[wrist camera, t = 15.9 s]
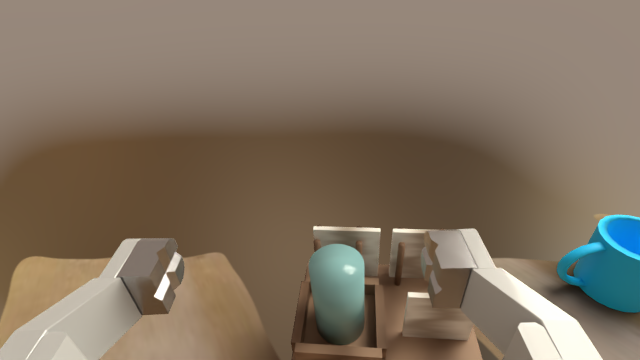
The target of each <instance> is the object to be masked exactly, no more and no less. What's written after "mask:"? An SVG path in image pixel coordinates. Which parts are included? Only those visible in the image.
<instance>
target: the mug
mask: <svg viewBox="0 0 640 360" xmlns="http://www.w3.org/2000/svg"><path fill="white" fill-rule="evenodd" d="M578 259H579V261H578V262H577V264H576V266H575V268H574V270H573V273H574V277H572V276H569V275H567V269H568V268H569V267H570V266H571V264H573V263H574V262H576V261H577V260H578ZM557 273H558V275H559V277H560V278H561V279H562V280H564V281H565V282H567V283H568V284H571V285H576V286H579V287H580V288H581V289H582V290H583V291H584V292H585V293H586V294H587V295H588V296H590V297H591V298H593V299H594V300H595V301H597V302H599V303H601V304H603V305H605V306H607V307H609V308H612V309H615V310H619V311H622V312H633V313H636V312H640V218H638V217H633V216H628V215H611V216H606V217H605V218H603V219H601V220H600V222H599V224H598V225H597V227H596V229H595V231H594V233H593V235H592V237H591V238H590V240H589V242H588V244H587V245H584V246H581V247H579V248H577V249H575V250H572V251H571V252H569V253H568V254H567V255H565V256H564V257H563V258H562V259H561V260H560V262H559V263H558V266H557Z"/></svg>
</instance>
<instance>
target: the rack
mask: <svg viewBox="0 0 640 360" xmlns="http://www.w3.org/2000/svg"><path fill="white" fill-rule="evenodd" d="M313 230H314V250H315V252H316V251H317V250H318V249H320V248H322V247H324V246H327V245H331V244H344V245H348V246H350V247H352V248H354V249H356V250H357V251H358V252H359V253H360V254H361V255H362V257H363V260H364V304H365V324H364V330H363V332H362V334H361V335H360V337H359V338H358V339H357V340H355V341H354V342H352V343H350V344H346V345H335V344H331V343H329V342H327V341H326V340H324V339H323V338H322V337H321V335H320V334H319V332H318V330H317V326H316V318H315V311H314V304H313V297H312V289H311V282H310V275H309V266H308V265H309V262H308V263H307V269H306V275H305V281H302V282H301V288H300V293H299V300H298V305H297V311H296V317H295V322H294V329H293V334H292V340H291V345H292V350H293V354H292V360H482V356H481V353H480V349H479V346H478V342H477V338H476V335H475V331H474V328H473V324H474V323H473V322H472V321H471V320H470V319H469V318H468V317H467V316H466V315H465V314H464V313H463V312H462V311H461V308H433V307H432V304H431V301H430V297H429V294H428V291H427V290H428V284H429V282H428V281H426V280H425V279H424V277H423V273H422V268H421V252H422V249H423V248H424V247H425V243H424V240H423V239H424V234H425V232H426V231H431V230H419V229H403V228H400V227H399V228H397V229H393V233H392V244H391V256H390V265H380V264H378V260H379V245H380V228H362V227H360V226H357V227H356V228H355V227H322V226H321V225H317V226H314V229H313ZM439 230H444V229H439Z"/></svg>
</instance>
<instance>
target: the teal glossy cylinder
mask: <svg viewBox="0 0 640 360" xmlns="http://www.w3.org/2000/svg"><path fill="white" fill-rule="evenodd" d="M308 266H309V275H310V282H311V289H312V297H313V304H314V311H315V318H316V326H317V330H318V332H319V334H320V335H321V337H322V338H323V339H324V340H326V341H327V342H329V343H331V344H335V345H346V344H350V343H352V342H354V341H355V340H357V339H358V338H359V337H360V335H361V334H362V332H363V330H364V324H365V304H364V260H363V257H362V255H361V254H360V253H359V252H358V251H357V250H356V249H354V248H352V247H350V246H348V245H344V244H331V245H327V246H324V247H322V248H320V249H318V250H317V251H316V252H315V253H314V254H313V255H312V257H311V259H310V260H309V265H308Z"/></svg>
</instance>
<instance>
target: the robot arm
mask: <svg viewBox="0 0 640 360" xmlns="http://www.w3.org/2000/svg"><path fill="white" fill-rule="evenodd" d="M423 240H424V243H425V247H424V248H423V249H422V252H421V268H422V273H423V277H424V279H425V280H426V281H428V282H429V284H428V290H427V291H428V294H429V297H430V301H431V304H432V307H433V308H461V311H462V312H463V313H464V314H465V315H466V316H467V317H468V318H469V319H470V320H471V321H472V322H473V323H474V324H475V325H476V326H477V327H478V328H479V329H480V330H481V331H482V333H483V334H484V335H485V336H486V337H487V338H488V339H489V340H490V341H491V342H492V343H493V344H494V345H495V346H496V347H497V348H498V349H499V350H500V351H501V352H502V353H503V354H504V357H503V359H502V360H602V358H601V357H600V355H599V354H598V352H597V350H596V349H595V347H594V346H593V344H592V343H591V341H590V340H589V338H588V337H587V335H586V333H585V332H584V330H583V329H582V327H581V326H580V324H579V323H578V321H577V320H575V319H574V318H573V317H571V316H570V315H568V314H567V313H565V312H564V311H562V310H561V309H560V308H558V307H557V306H555V305H554V304H552V303H551V302H550V301H548V300H547V299H545V298H544V297H542V296H541V295H539V294H538V293H537V292H535V291H534V290H532V289H531V288H529V287H528V286H526V285H525V284H524V283H522V282H521V281H519V280H518V279H516V278H515V277H513V276H512V275H511V274H509V273H508V272H506V271H505V270H503V269H502V268H496V267H495V265H494V263H493V261H492V259H491V257H490V255H489V253H488V251H487V250H486V248H485V246H484V244H483V242H482V240H481V238H480V236H479V234H478V232H477V231H476V230H475V229H458V230H431V231H426V232H425V234H424V239H423ZM177 247H178V246H177V244H176V242H175V240H174V239H171V238H146V239H145V238H142V239H126V240H124V241H123V242H122V243H121V245H120V246H119V248H118V249H117V251H116V252H115V254H114V255H113V257H112V258H111V260H110V261H109V263H108V264H107V266H106V267H105V269H104V270H103V272H102V273H101V275H100V276H99V278H93V279H92V280H90V281H89V282H87V283H86V284H84V285H83V286H81V287H80V288H78V289H77V290H75V291H74V292H72V293H71V294H69V295H68V296H66V297H65V298H63V299H62V300H60V301H59V302H57V303H56V304H54V305H53V306H51V307H50V308H48V309H47V310H45V311H44V312H42V313H41V314H39V315H38V316H36V317H35V318H33V319H32V320H30V321H29V322H27V323H26V324H24V325H23V326H21V327H20V328H18V329H17V330H15V331H14V332H13V334H12V335H11V336H10V338H9V339H8V340H7V341H6V343H5V344H4V345H3V347H2V348H1V349H0V360H99V359H100V358H101V357H102V356H103V355H104V354H105V353H106V352H107V351H108V350H109V349H110V348H111V347H112V346H113V345H114V344H115V343H116V342H117V341H118V340H119V339H120V338H121V337H122V336H123V335H124V334H125V333H126V332H127V331H128V330H129V329H130V328H131V327H132V326H133V325H134V324H135V323H136V322H137V321H138V320H139V319H140V318H141V317H142V315H154V314H168V313H169V311H170V309H171V306H172V304H173V301H174V299H175V293H174V291H173V290H174V289H176V288H177V287H178V286H179V285H180V284H181V282H182V279H183V275H184V261H183V259H182V256H180V255H179V254H178V253H176V252H175V251H176V249H177Z"/></svg>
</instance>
